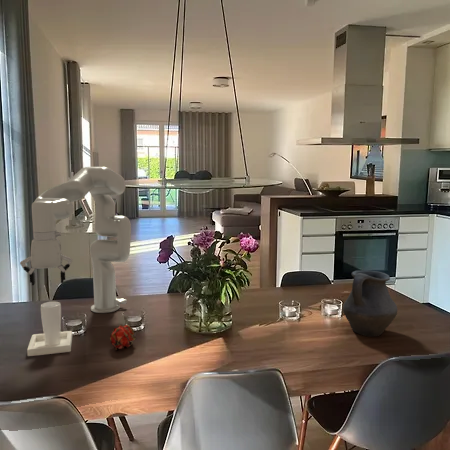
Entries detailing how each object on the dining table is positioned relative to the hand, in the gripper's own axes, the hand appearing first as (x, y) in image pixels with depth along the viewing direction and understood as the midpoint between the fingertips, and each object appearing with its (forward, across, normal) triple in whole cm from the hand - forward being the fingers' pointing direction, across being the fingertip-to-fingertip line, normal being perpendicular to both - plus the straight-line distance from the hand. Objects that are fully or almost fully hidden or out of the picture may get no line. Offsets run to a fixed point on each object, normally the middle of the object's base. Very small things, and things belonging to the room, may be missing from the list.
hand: (48, 283), depth 162 cm
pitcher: (+24, -118, +21) cm, 122 cm away
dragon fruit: (+24, -25, +9) cm, 35 cm away
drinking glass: (+23, 0, 0) cm, 23 cm away
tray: (+23, 0, +1) cm, 23 cm away
